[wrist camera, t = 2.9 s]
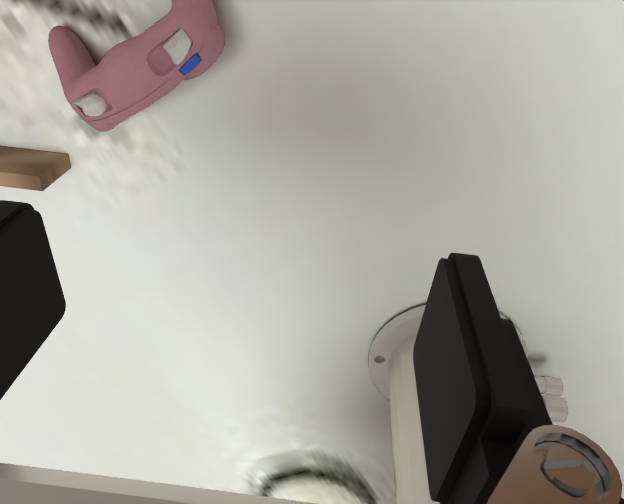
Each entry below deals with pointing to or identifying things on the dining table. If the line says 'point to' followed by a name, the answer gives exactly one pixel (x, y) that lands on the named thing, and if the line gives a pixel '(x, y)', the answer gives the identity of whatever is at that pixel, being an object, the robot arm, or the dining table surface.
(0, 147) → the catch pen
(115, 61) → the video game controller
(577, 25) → the dining table surface
